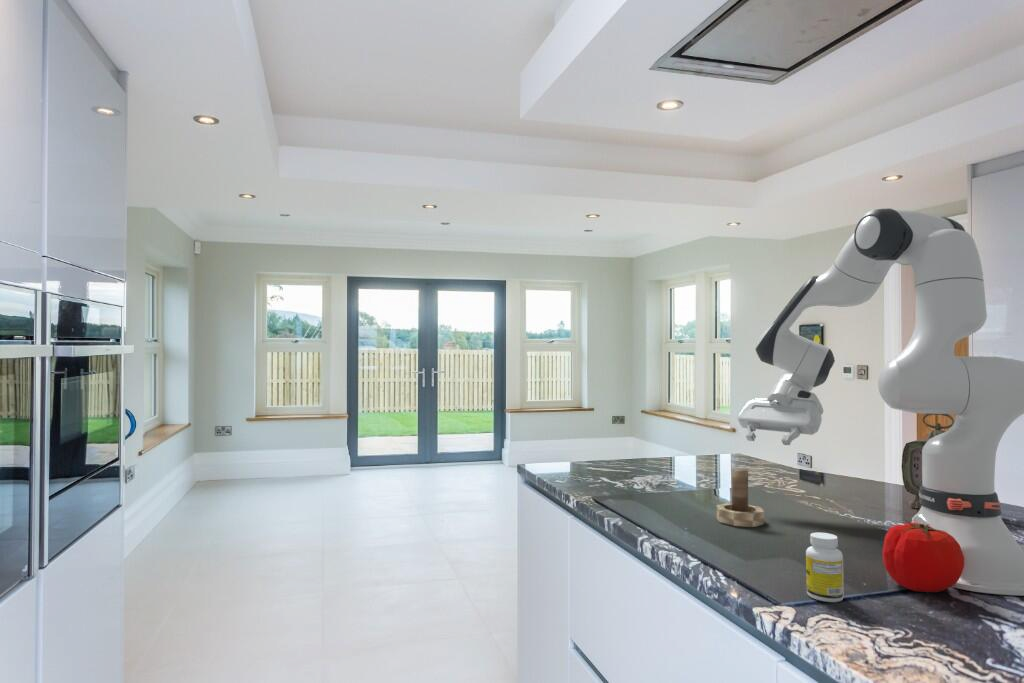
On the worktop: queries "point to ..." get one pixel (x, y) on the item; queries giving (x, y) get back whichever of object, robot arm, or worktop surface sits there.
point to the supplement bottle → (824, 568)
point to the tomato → (922, 557)
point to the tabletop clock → (917, 459)
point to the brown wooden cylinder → (740, 490)
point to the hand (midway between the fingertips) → (767, 441)
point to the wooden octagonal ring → (740, 516)
